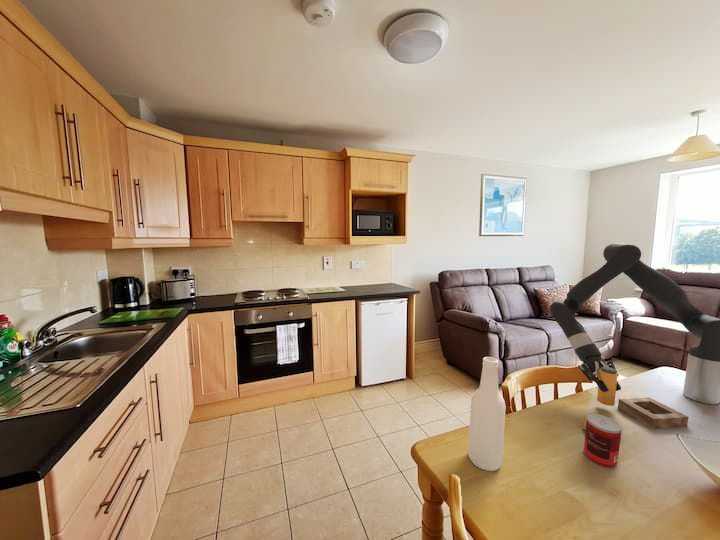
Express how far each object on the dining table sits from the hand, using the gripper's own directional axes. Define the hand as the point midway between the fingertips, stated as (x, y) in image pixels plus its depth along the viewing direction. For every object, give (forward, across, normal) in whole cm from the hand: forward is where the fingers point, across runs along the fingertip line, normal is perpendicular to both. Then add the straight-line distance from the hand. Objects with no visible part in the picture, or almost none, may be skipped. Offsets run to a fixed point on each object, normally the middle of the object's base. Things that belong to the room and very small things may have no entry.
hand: (612, 390), depth 106 cm
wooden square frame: (+9, +11, +2) cm, 15 cm away
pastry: (+12, -16, 0) cm, 20 cm away
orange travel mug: (+2, 0, +5) cm, 6 cm away
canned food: (+18, -26, -7) cm, 33 cm away
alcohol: (+15, -60, -4) cm, 62 cm away
